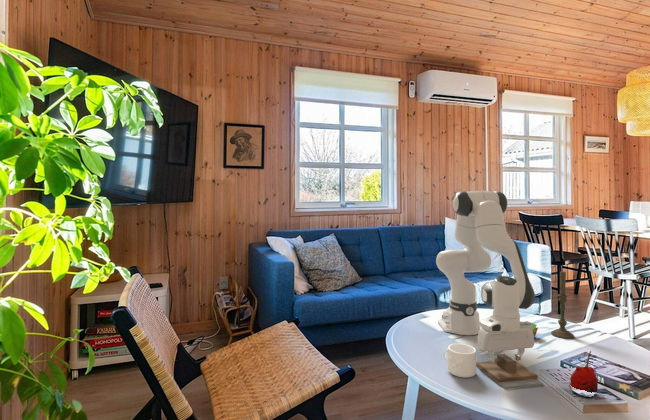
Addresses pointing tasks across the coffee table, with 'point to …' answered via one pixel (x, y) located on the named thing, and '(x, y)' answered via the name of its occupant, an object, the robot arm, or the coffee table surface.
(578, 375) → the candy apple
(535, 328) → the geometric puzzle
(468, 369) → the mug
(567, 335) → the candlestick holder
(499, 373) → the lid
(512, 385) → the mat
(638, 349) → the coffee table surface
